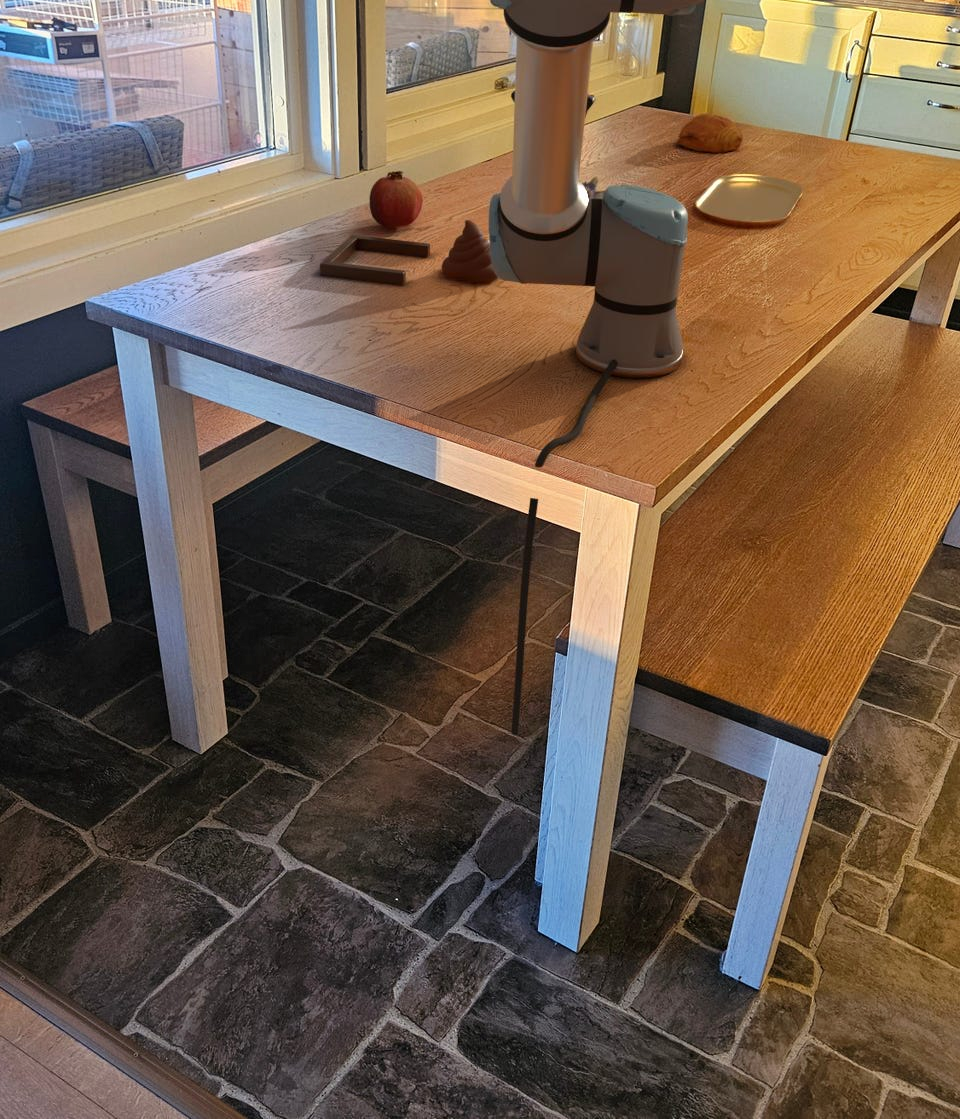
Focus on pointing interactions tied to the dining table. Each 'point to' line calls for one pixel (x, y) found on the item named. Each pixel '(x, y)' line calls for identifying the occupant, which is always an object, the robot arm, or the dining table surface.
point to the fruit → (395, 200)
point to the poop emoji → (470, 257)
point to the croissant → (710, 134)
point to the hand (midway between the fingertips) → (546, 203)
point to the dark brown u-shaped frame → (338, 269)
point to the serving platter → (749, 200)
